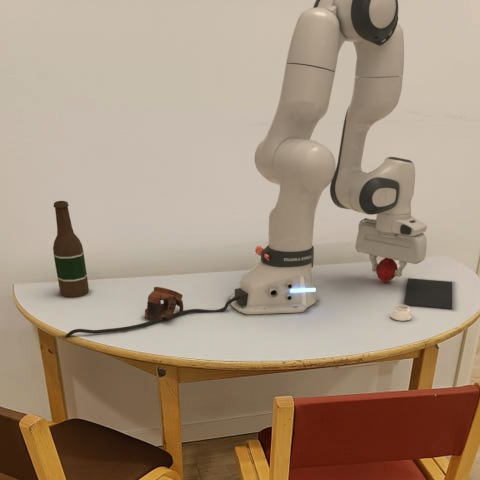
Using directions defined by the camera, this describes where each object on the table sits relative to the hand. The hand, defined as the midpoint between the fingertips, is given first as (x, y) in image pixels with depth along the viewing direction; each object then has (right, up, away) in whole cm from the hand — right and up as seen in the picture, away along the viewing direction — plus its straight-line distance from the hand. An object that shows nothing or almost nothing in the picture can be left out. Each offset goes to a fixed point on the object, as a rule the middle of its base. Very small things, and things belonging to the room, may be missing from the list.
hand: (386, 273), depth 168 cm
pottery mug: (-60, -16, -19) cm, 65 cm away
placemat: (+10, -7, -6) cm, 14 cm away
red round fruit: (0, -3, +2) cm, 3 cm away
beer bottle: (-87, -7, -3) cm, 87 cm away
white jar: (-2, -17, -21) cm, 27 cm away
